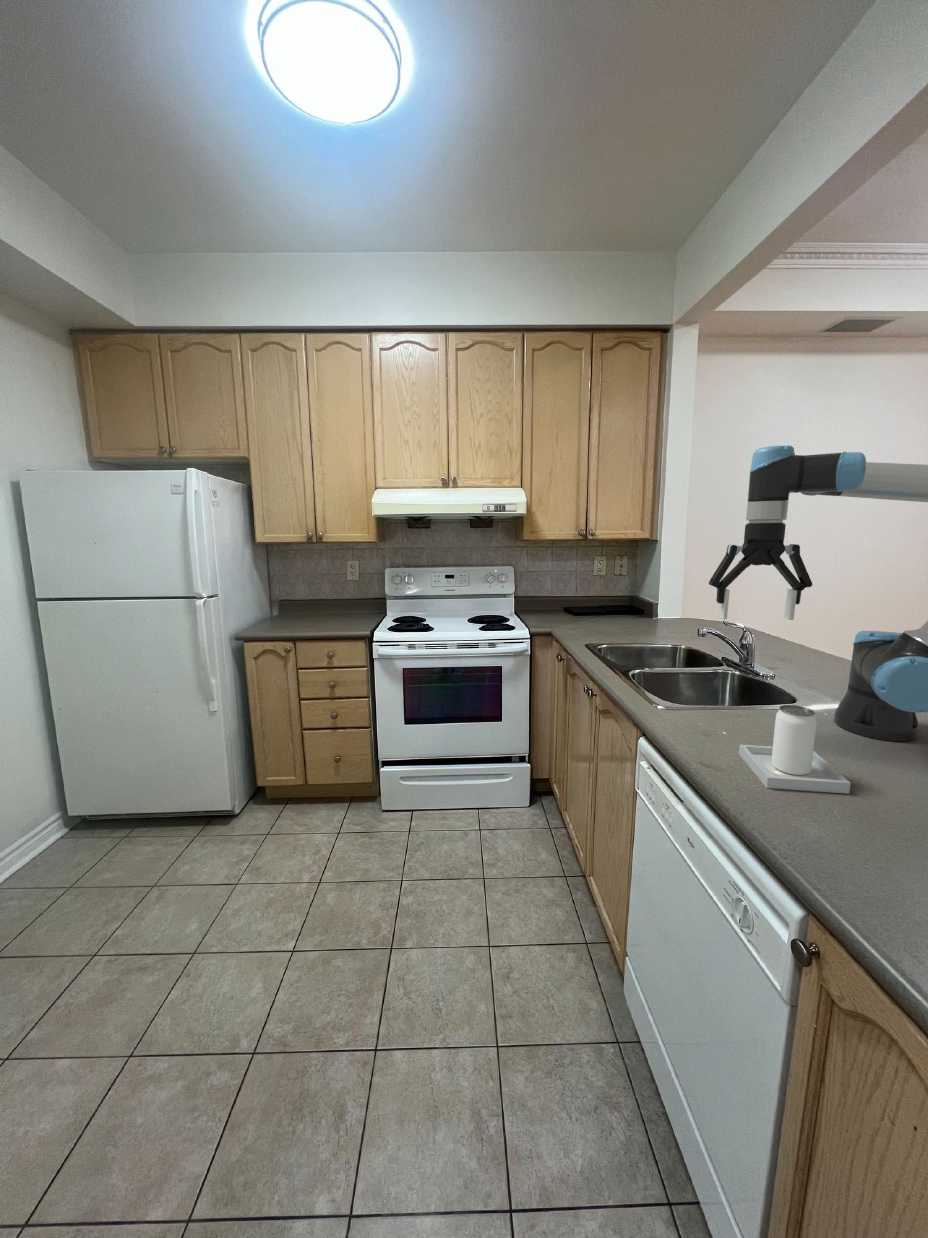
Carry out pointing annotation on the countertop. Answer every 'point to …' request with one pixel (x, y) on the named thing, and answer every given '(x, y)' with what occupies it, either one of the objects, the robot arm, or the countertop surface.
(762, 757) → the flange tray
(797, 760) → the can
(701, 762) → the countertop surface
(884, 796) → the countertop surface
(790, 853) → the countertop surface
